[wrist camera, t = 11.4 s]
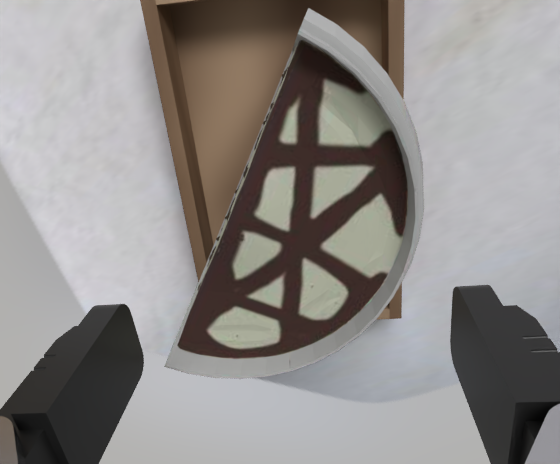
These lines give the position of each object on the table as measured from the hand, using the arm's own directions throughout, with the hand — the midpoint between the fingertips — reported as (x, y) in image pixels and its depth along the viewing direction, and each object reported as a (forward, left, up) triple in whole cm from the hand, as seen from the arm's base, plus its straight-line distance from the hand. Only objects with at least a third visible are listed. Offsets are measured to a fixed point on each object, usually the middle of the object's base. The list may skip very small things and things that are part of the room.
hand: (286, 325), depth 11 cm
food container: (-1, 0, -13) cm, 13 cm away
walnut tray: (0, 0, -13) cm, 13 cm away
